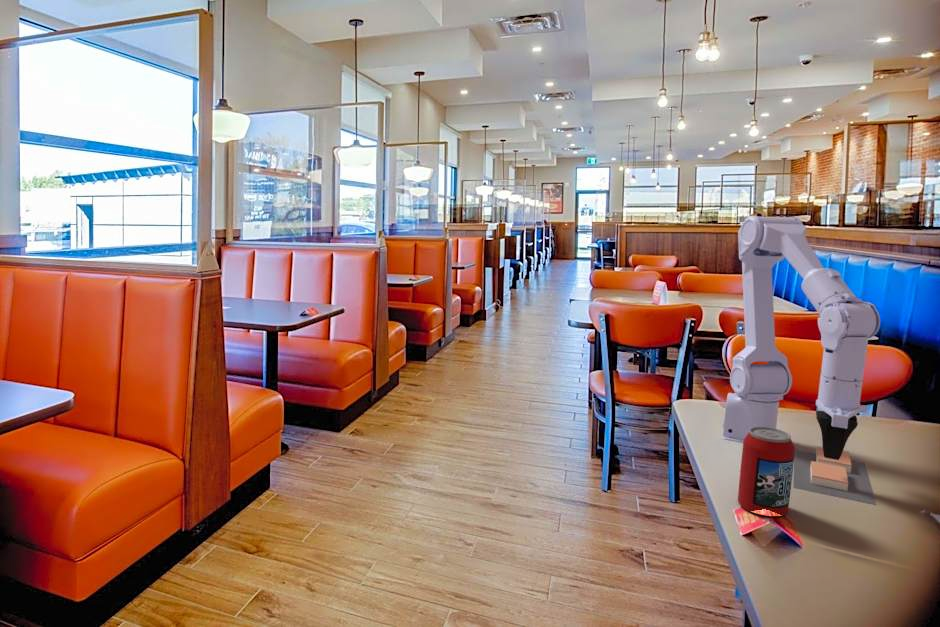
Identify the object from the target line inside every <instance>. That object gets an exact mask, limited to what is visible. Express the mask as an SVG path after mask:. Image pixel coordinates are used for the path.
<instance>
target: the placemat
mask: <svg viewBox="0 0 940 627" xmlns="http://www.w3.org/2000/svg"><path fill="white" fill-rule="evenodd" d="M811 461H814V462H816V452H810V451H804V450H798V449H795V455H794V465H793V489H798V490H803V491H807V492H810V493H811V492H812V493H817V494H820V495H821V494H822V495H827V496H830V497H831V496H832V497H837V498H839V499H845V500H849V501H850V500H851V501H855V502H860V503H864V504H869V505H873V506H877V502H876V500H875V496H874V492H873V489H872V485H871V482H870V478H869V475H868V472H867V468H866V464H865V462H863V461H859V460H853V459H850V461H851V465H852V466H851V473H848V472H846V473H847V478H848V490H847V491H845V490H840V489H835V488H831V487H826V486H821V485H816V484H811V471H810V468H811Z"/></svg>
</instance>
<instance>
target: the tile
mask: <svg viewBox="0 0 940 627" xmlns="http://www.w3.org/2000/svg"><path fill="white" fill-rule="evenodd" d="M810 471H811V484H816V485H821V486H826V487H831V488H835V489H840V490H845V491H847V490H848V478H847V473H846V468H845V467H841V466H835V465H830V464H825V463H819V462H814V461H811V468H810Z"/></svg>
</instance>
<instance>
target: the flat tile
mask: <svg viewBox="0 0 940 627" xmlns="http://www.w3.org/2000/svg"><path fill="white" fill-rule="evenodd" d="M815 453H816V462H819V463H825V464H830V465H835V466H841V467H845V468H846V472H848V473H851V466H852V465H851V461H850V460H851V458H850V453H849V451H845V450H843V452H842V455H841V457H840V459H839V460H835V459H830V458H825V457H824V453H823V446H816V450H815Z"/></svg>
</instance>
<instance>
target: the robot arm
mask: <svg viewBox="0 0 940 627" xmlns="http://www.w3.org/2000/svg"><path fill="white" fill-rule="evenodd" d="M742 222H743V223H742V224H741V226H740V227H739V229H738V231H737V235H738V236H737V238H738V239H737V243H738V259H739V261H741V269H742V270H741V273H742V274H741V275H742V294H743V296H742V297H743V317H744V318H743V321H744V337H745V338H744V340H745V342H744V343H745V344H744V346H745V347H744V348H743V349H742V350H741V351H739V352H737V354H736V355H734V356H733V357H732V359H731V360H732V363H731V364H732V365H731V371H730V374H729V383H730V386H731V389H732V391H733V393H732V392H728V393H727V397H726V401H725V402H726V404H725V409H724V410H725V411H724V419H723V422H722V428H723V431H722V440H726V441H731V442H736V443H741V444H743V442H744V438H745V437H746V436H747V434H748V433H749V432H750V429H751V428H754V427H768V428H774V429H777V426H778V425H777V423H778V415H779V405H780V401H781V400H784V395H786V394H788V393H789V392H790V390H791V388H792V384H793V376H792V374H791V371H790V368H789V364H788V358H787V356H786V355H785V354H784V353H782V352H781V351H780V350H779V349H777V347H776V334H775V332H776V330H775V329H776V328H775V314H774V313H775V311H774V291H773V268H774V266H775V265H776V264H777V263H779V262H781V261H784V259H786V260H787V261H788V262H789V264H790V265H791V267H792V268H793V269H794V270H795V271H796V272H797V273H798V274H799V276H800V277H801V278H802V279H803V280H802V282H801V290H802V292H803V293H804V294H805V296H806V297H807V299H808V300H809V302H810V303H811V304H812V306H813V308H814V309H815V311H816V312H817V313H818V315H819V317H817V326H818V330H819V332H820V336H821V338H820V344H821V347H822V348H823V354H822V360H821V361H822V362H821V370H820V377H819V386H818V394H817V395H818V396H817V399H815V407H818V408H819V409H820V410H816V411H815V414H816V416H815V417H816V421H817V424H818V425H819V427H820V432H821V441H822V447H823V453H824V457H825V458H830V459H835V460H839V459H840V457H841V455H842V452H843V451H844V449H845V447H846V444H847V441H848V439H849V437H850V436H851V435H852V433H853V432H854V431H855V430H856V429H857V427H858V424H859V423H858V418H857V415H858V414H859V413H863V414H864V413H865V414H867V413H868V412H869V408H868V405H867V406H866V405H863V404H862V405H861V396H862V388H863V381H864V375H865V373H864V372H865V367H866V366H865V365H866V357H867V352H868V351H867V350H868V343H869V339H871V338H872V337H874V336H875V335H876V334H877V333H878V332H879V329H880V327H881V317H880V314H879V312H878V310H877V308H876V306H875V305H874V304H873V303H872V302H867V301H863V300H862V299H861V298H857V296H856V295H855V294H854V293H853V291H852V290H851V289H850V288H849V286H848V285H847V284H846V282H845V281H844V280H843V279H842V278H841V276H842V275H841V273H840V272H839V271H838V270H835V269H833V268H824V266H823V265H822V263H821V261H820V259H819V258H818V256H817V255H816V253H815V252H814V250H813V248H812V247H811V245H810V243H809V241H808V240H807V239H806V238H807V226H805V225H804V224H803V221H802V220H801V219H800V218H799V217H797V216H789V217H788V216H787V217H786V216H757V215H749V216H747V217H746V218H745V219H744V220H743V221H742ZM755 362H764V363H755Z"/></svg>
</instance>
